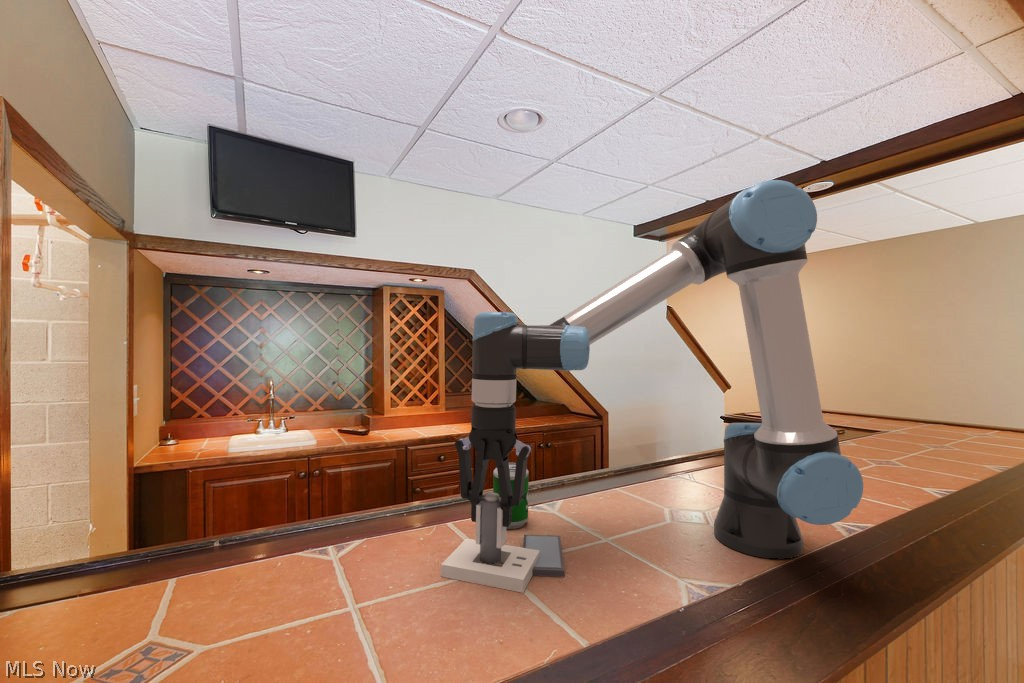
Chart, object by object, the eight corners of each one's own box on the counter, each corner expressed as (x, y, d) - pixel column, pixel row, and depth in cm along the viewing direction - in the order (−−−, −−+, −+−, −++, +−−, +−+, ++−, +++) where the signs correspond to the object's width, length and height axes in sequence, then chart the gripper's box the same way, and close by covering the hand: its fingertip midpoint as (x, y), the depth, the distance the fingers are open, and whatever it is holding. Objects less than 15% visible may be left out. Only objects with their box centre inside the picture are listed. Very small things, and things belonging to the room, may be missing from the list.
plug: (503, 555, 75) (505, 493, 75) (496, 565, 72) (498, 500, 72) (484, 552, 76) (486, 490, 76) (476, 562, 73) (478, 497, 73)
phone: (560, 540, 85) (560, 535, 85) (564, 576, 72) (564, 570, 72) (523, 539, 85) (524, 534, 85) (521, 575, 72) (521, 568, 72)
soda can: (525, 532, 89) (525, 472, 89) (488, 528, 90) (489, 470, 90) (530, 517, 96) (531, 462, 96) (497, 514, 97) (497, 460, 98)
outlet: (539, 561, 77) (539, 549, 77) (523, 592, 67) (523, 579, 67) (466, 549, 81) (466, 537, 81) (440, 576, 72) (441, 563, 72)
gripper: (545, 404, 75) (542, 540, 75) (459, 398, 80) (457, 526, 80) (533, 410, 68) (530, 561, 68) (440, 403, 73) (437, 544, 73)
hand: (490, 542), depth 74 cm, fingers closed on plug, 3 cm apart
